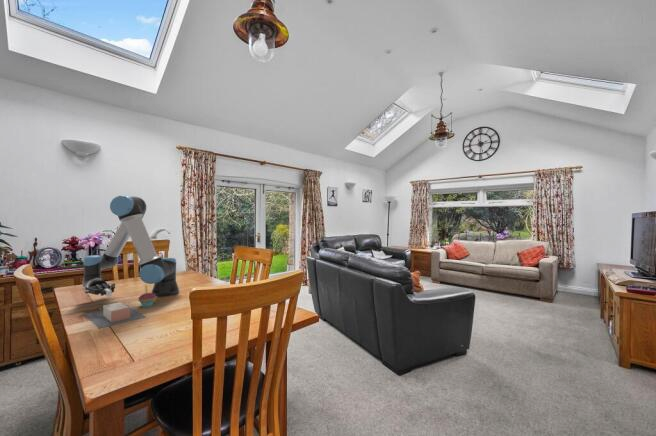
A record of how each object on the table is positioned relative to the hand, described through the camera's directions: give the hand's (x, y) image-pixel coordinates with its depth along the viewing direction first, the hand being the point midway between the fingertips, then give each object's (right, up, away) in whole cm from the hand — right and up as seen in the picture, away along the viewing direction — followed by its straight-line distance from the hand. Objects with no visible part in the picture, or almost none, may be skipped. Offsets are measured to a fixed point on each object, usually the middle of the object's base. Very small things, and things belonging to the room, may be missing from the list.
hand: (109, 293), depth 134 cm
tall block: (0, -8, +2) cm, 8 cm away
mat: (+3, -11, 0) cm, 11 cm away
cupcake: (+9, -11, +15) cm, 21 cm away
